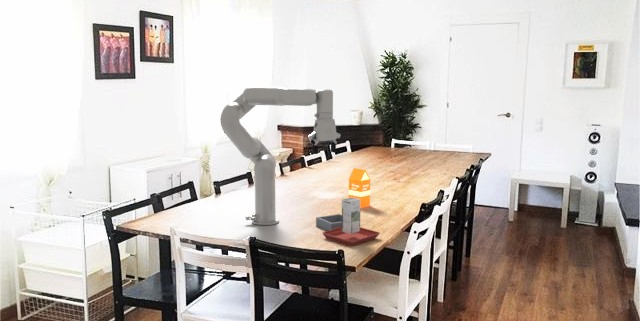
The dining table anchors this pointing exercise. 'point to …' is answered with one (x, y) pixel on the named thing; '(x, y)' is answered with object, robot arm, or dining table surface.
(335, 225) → the bin
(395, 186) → the dining table surface
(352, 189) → the orange juice
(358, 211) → the syrup box
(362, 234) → the plant saucer
